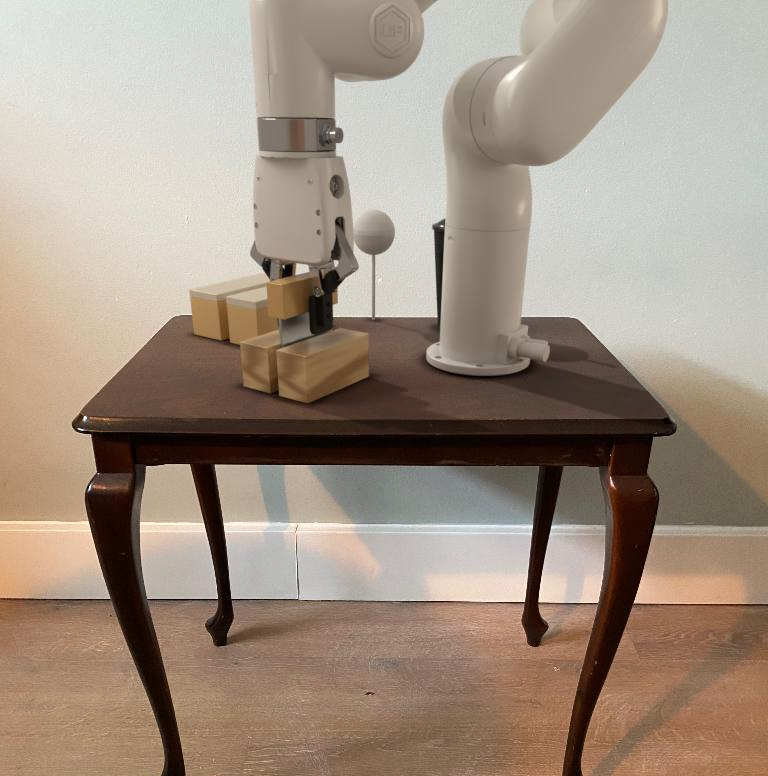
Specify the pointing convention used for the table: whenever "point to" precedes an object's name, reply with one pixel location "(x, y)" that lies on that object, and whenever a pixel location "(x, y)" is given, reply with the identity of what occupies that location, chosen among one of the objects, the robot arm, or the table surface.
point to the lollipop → (373, 238)
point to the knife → (292, 307)
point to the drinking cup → (439, 262)
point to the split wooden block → (305, 364)
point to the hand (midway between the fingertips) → (305, 326)
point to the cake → (232, 309)
